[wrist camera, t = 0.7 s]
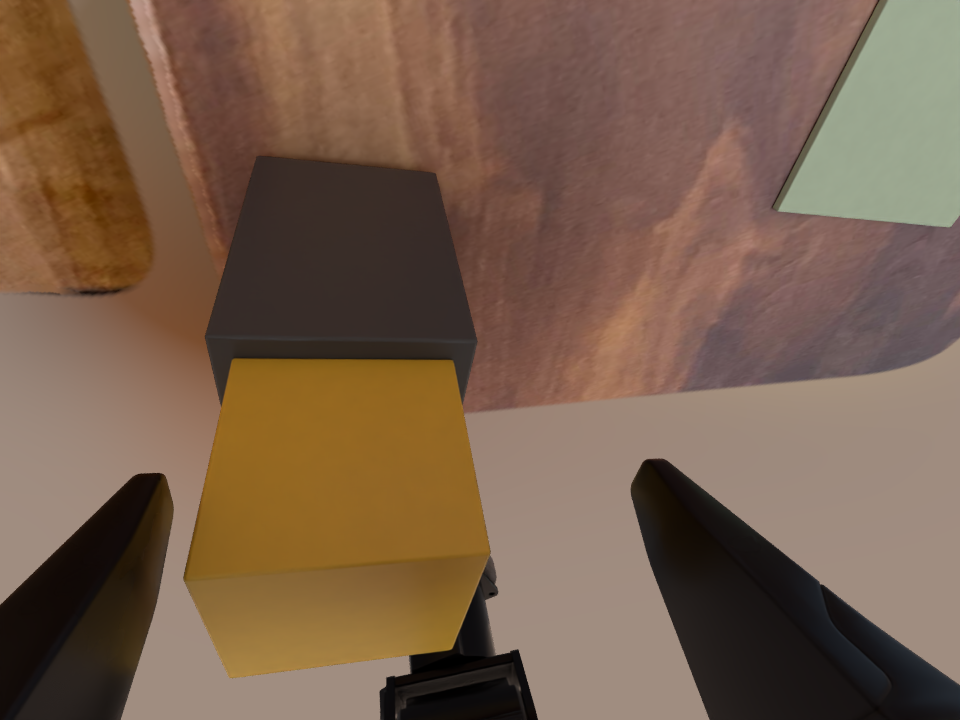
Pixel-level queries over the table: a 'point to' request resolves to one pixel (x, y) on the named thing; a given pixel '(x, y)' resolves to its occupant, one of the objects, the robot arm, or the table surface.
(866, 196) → the mat
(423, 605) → the yellow block
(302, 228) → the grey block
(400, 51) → the table surface
